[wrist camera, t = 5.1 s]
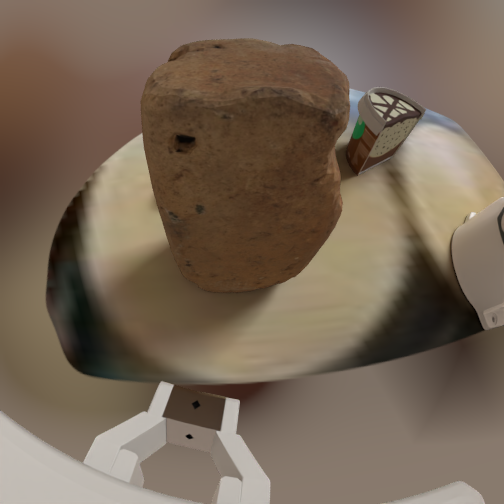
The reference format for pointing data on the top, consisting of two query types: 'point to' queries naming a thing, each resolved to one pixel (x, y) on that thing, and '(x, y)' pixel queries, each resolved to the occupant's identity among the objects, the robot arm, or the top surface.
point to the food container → (381, 127)
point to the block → (245, 158)
